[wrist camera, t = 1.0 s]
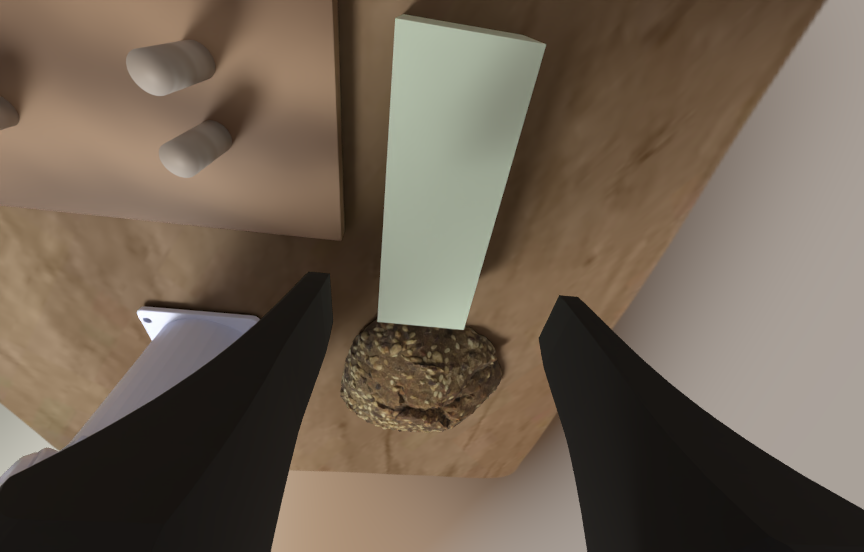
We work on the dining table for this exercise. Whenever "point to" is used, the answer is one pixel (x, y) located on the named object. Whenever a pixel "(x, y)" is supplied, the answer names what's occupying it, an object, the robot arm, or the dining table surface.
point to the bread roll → (418, 376)
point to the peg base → (175, 112)
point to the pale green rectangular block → (448, 162)
